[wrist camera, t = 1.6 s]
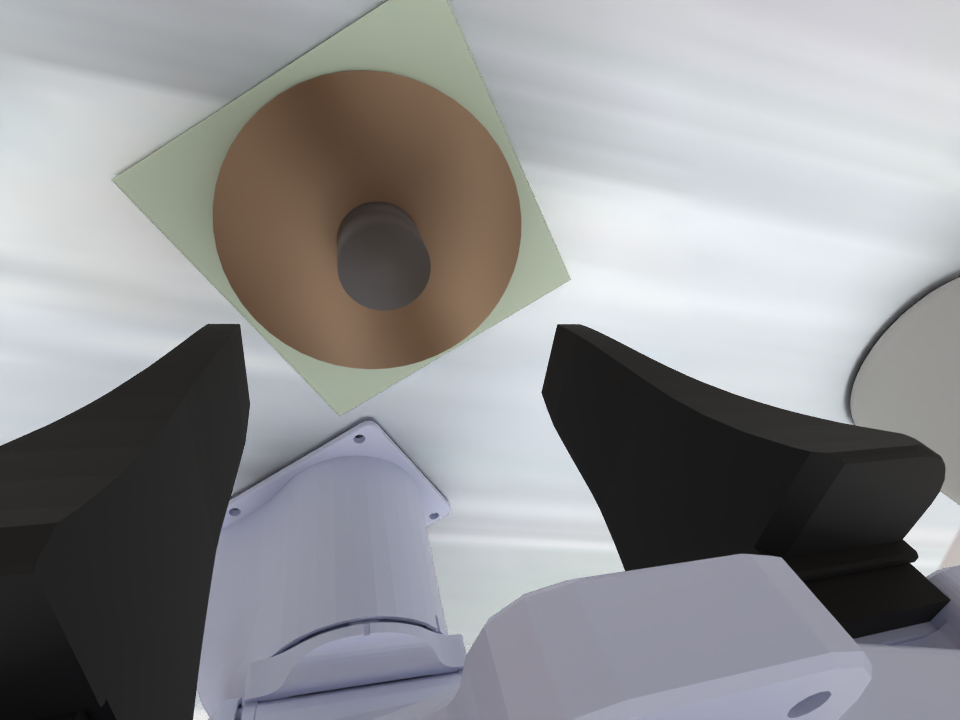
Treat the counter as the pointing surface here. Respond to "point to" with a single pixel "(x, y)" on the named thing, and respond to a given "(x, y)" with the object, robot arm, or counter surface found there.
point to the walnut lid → (366, 219)
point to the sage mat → (361, 46)
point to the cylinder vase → (918, 380)
